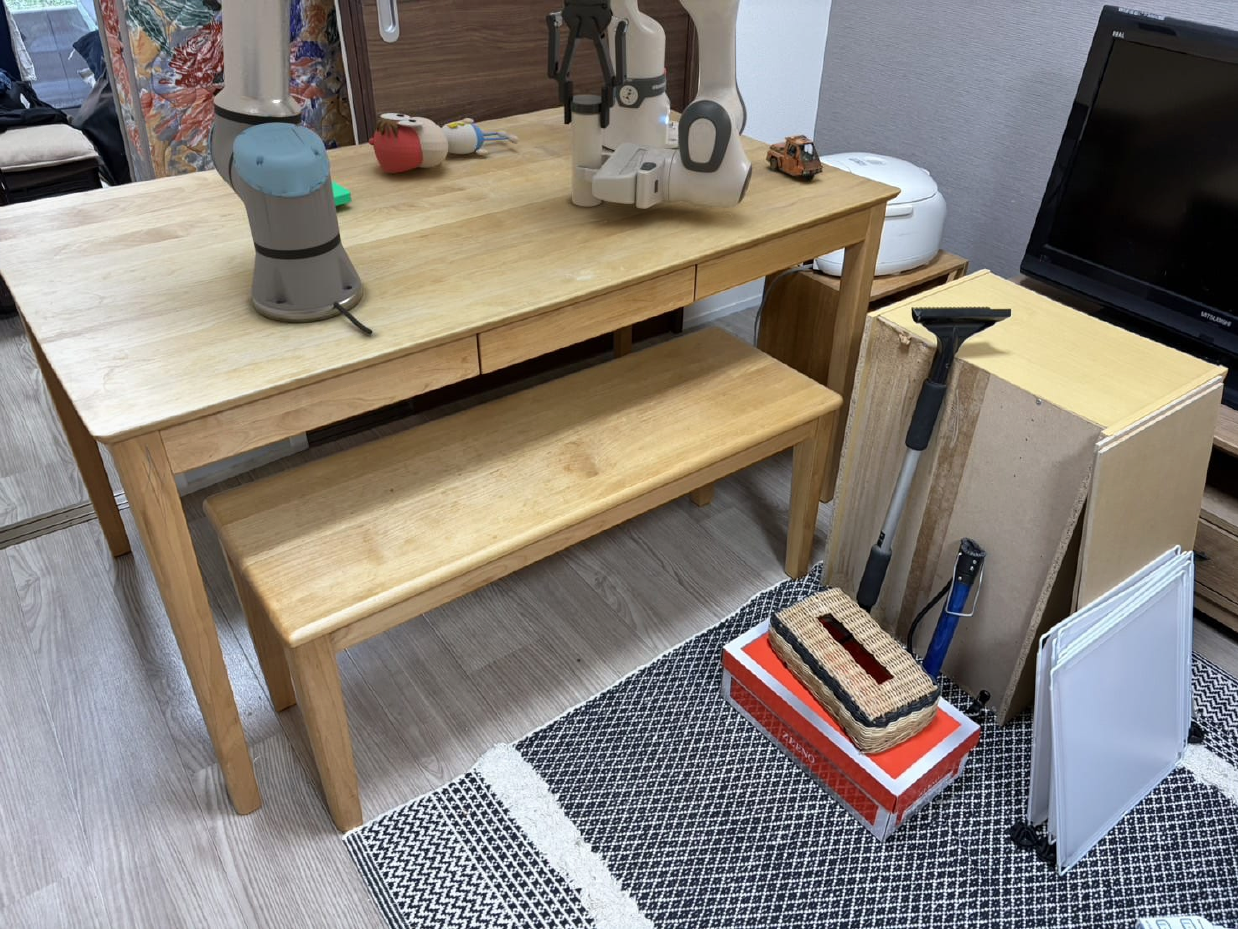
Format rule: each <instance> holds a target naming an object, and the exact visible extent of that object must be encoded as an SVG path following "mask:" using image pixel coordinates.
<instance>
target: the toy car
mask: <svg viewBox="0 0 1238 929" xmlns="http://www.w3.org/2000/svg"><path fill="white" fill-rule="evenodd" d="M784 140H785V141H782V142H781V141H780V142H777V143H772V144H771V145H770V146H769V149H768V150H767V151H766V157H765V160H766V162H768V163H769V166H770V169H771V170H773V171H779V172H783V173H785V174H787V175H789V176H791V177H794V178H802V177H805V180H806V181H809V182H812V180H814V178H815V176H816V175H818V174H822V173H823V168H824V166H823V165H822V162H821V159H820V157H819V154H818V151H817V149H816V147H815V144H814V143H815V142H814V141H813V140H812V139H809V138H808V137H807V136H806V135H804V134H797V135H791V136H786V137H784ZM809 145H810V146H811V148H812V153H810V152H809V149H807V151H806V150H805V148H806V146H809Z"/></svg>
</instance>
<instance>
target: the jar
mask: <svg viewBox="0 0 1238 929" xmlns="http://www.w3.org/2000/svg"><path fill="white" fill-rule="evenodd" d="M570 124H571V127H570V128H571V129H570V131H571V133H570V134H571V135H570V136H571V203H573V204H574V205H576V206H579V207H587V208H588V207H595V206H598V205H600V204H601V203H602V200H600V199H598V198H596V197H594V196H593V195H592V183H591V182H589V181H587V180H585V179H579V178H576V177H575V170H576V168H577V167H578V166H587V168H588V169H592V170H594V169H600V168H601V167H602V166H603V165H602V154H603V145H602V128H601V112H599V113H593V114H582V113H576V112H573V111H571V123H570Z"/></svg>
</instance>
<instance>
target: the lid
mask: <svg viewBox="0 0 1238 929" xmlns="http://www.w3.org/2000/svg"><path fill="white" fill-rule="evenodd" d="M569 104H570V110H571V111H573V112H576V113H582V114H593V113H599V112H601V95H595V94H575V95H573V96H572V97H571V98H570V99H569Z"/></svg>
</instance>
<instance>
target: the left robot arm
mask: <svg viewBox="0 0 1238 929" xmlns="http://www.w3.org/2000/svg"><path fill="white" fill-rule="evenodd" d="M221 19H222V20H221V22H222V45H223V46H222V47H223V50H222V51H223V70H224V71H223V73H224V87H223V88H222V89H221V90H220V91H219V92H218V93H217V94H216V95H215V96H214V97H213V110H214V111H213V116H214V117H213V118H214V119H213V120H214V121H213V122H212V124H211V126H210V129H209V133H208V141H207V142H208V150H209V155H210V159H211V162H212V165H213V167H214V168H215V170H216V172H217V173H218V175H219V177H221V178H222V180H223V181H224V182H225V183H226V184H228V186H229V187H230V188H231V190H232V191H234V193H235V194H236V196H237V197H238V198H239V199H240V200H241V201H242V202H243V206H244V208H245V211H246V215H247V219H248V220H247V221H248V224H249V228H250V233H251V237H252V242H253V247H254V251H255V258H254V264H253V273H252V283H251V289H250V290H251V291H250V294H251V299H252V303H253V307H254V309H255V310H256V311H257V313H259V314H260V315H262V316H264V317H266V318H268V319H271V320H275V321H281V322H289V323H304V322H314V321H315V322H316V321H320V320H326V319H330V318H332V317H336V316H338V315H341V314H342V315H343V316H345V318H347V319H348V320H349V321H350V322H351V323H352V324H353V325H354V326H355V327H356V328H358V330H360V331H361V332H363V333H365V334H367V335H368V336H371V335H372V334H373V333H374V332H373V330H372V329H371V328H369V327H367V326H365V325H364V324H363V323H362V322H360V321H359V320H358V319H357V318H356V317H355V316H354V315H353V314H352V313H351V312H350V311H349V310H351V309H353V308H354V307H355V306H356V305H357V304H358V303H359V302H360V301H361V298H362V297H363V287H362V282H361V278H360V276H359V274H358V272H357V270H356V268H355V266H354V264H353V263H352V261H351V259H350V257H349V255H348V253H347V251H346V250H345V248H344V245H343V243H342V239H341V233H340V225H339V220H338V214H337V207H336V206H335V200H334V194H333V188H332V182H331V181H332V177H331V162H330V158H329V156H328V153H327V150H326V146H325V144H324V143H325V142H324V141H323V139H322V138H321V137H320V135H318V133H317V132H315V131H313V130H311V129H310V128H308V127H305V126H303V125H302V123H303V122H302V118H303V117H302V116H303V111H302V110H303V109H302V106H301V105H300V103H298V102H297V100H296V99H295V98H294V97H293V96H292V94H291V0H221ZM563 22H564V23H565V25H566V26H567V28H568V29H569V34H568V37H567V40H566V41H567V42H566V46H565V50H564V54H563V56H562V61H561V65H560V47H561V27H562V25H563ZM545 23H546V25H547V30H548V42H547V44H548V45H547V70H546V71H547V74H546V75H547V77H548V78H549V79H551V80H554V81H556V82H557V84H558V101H559V103H561V104H563V120H564V121H563V124H564V125H570V124H571V110H570V104H569V99H570V98H571V97H572V96H574V81H573V80H569V79H570V77H571V76H570V75H571V71H572V67H573V63H574V60H575V57H576V53H577V49H578V46H579V42H580V41H581V40H582V39H587V40H591V41H592V42H593V43H592V44H593V45H594V47H595V50H596V53H597V58H598V62H599V65H600V69H601V72H602V76H603V80H604V85H603V86H602V87H601V89H600V97H601V128H603V129H605V128H606V127H607V126H608V125H609V121H610V108H612V107H613V106H614V105H615V95H616V86H621V85H622V84H623V83H624V82H625V81H626V80H627V62H626V32H627V28H628V25H629V20H628V19H627V18H624V19H621V18H619V17H616V16H614V15H613V12H612V10H611V0H563V6H562V9H561V11H558V12H556V11H552V12H550V13H548V14H547V15H546V16H545ZM610 23H611V24H612V25H613V31H614V32H615V62H616V77H615V73H614V69H613V65H612V61H611V57H610V54H609V45H608V41H607V40H608V38H607V35H606V30H608V29H607V27H608V26H609V24H610Z"/></svg>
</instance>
